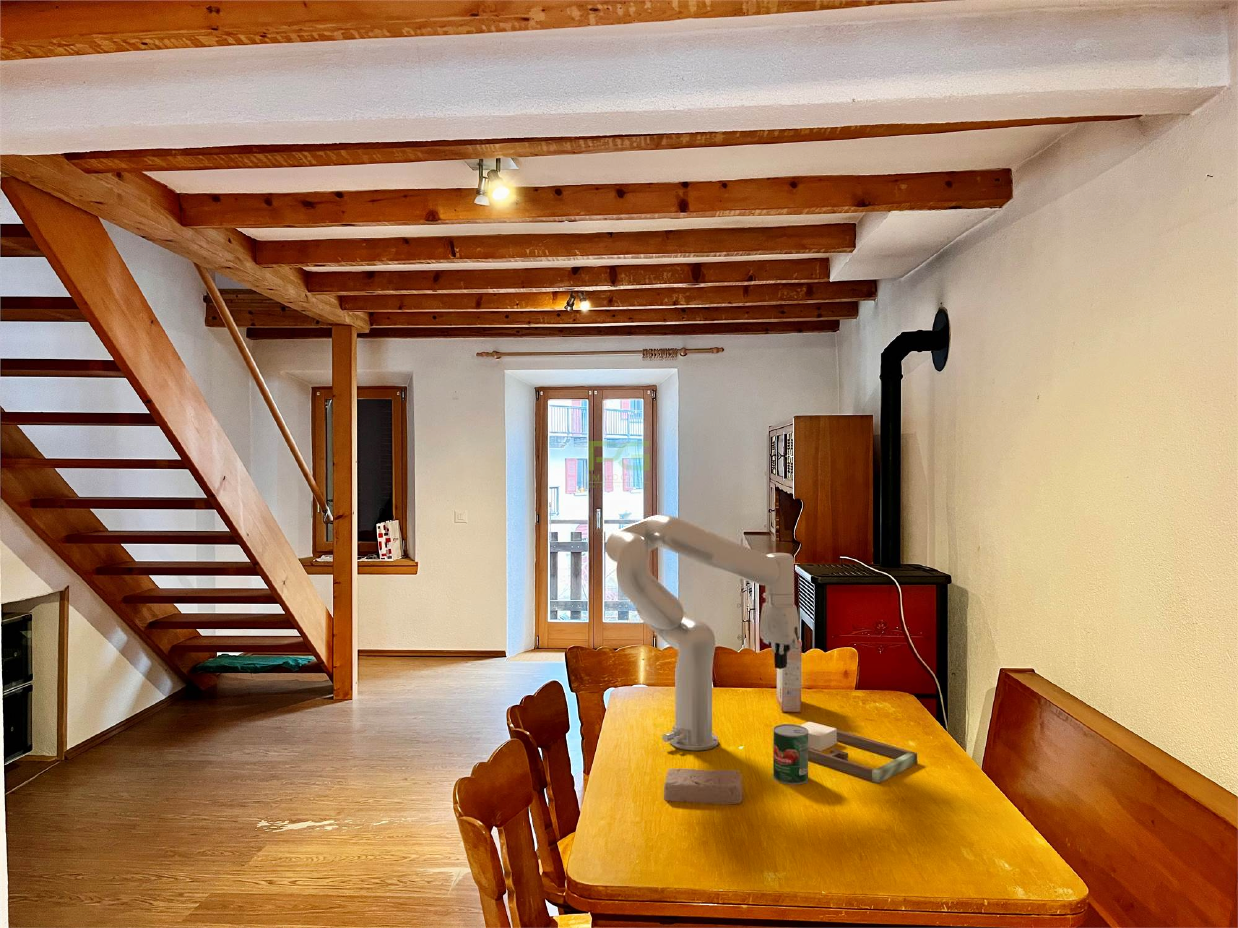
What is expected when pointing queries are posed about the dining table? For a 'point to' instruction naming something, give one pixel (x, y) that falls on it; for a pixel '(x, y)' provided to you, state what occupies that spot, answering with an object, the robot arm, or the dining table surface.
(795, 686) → the cracker box
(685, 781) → the brick
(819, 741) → the cream block
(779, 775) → the canned tomato
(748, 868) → the dining table surface
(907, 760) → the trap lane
